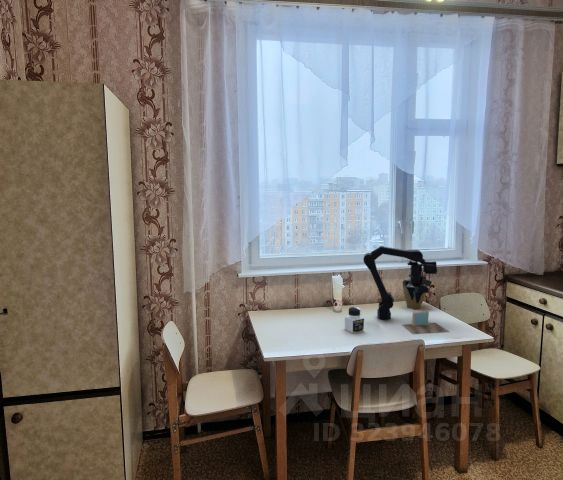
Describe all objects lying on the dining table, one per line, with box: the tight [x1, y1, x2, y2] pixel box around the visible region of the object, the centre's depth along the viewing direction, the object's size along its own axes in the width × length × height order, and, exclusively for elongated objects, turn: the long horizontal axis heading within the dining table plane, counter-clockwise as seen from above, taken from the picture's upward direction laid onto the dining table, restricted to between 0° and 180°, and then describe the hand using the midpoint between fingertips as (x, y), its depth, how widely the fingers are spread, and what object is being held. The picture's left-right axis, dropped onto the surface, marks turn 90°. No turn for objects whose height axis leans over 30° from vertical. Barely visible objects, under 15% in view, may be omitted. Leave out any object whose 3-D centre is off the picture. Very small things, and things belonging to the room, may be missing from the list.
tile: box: [411, 310, 430, 326], centre depth 215 cm, size 8×2×7 cm, turn 98°
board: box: [401, 322, 450, 335], centre depth 211 cm, size 20×14×1 cm
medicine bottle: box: [344, 306, 365, 334], centre depth 211 cm, size 7×7×12 cm
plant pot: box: [402, 278, 428, 310], centre depth 249 cm, size 15×15×16 cm
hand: (414, 301), depth 221 cm, fingers open, 6 cm apart
